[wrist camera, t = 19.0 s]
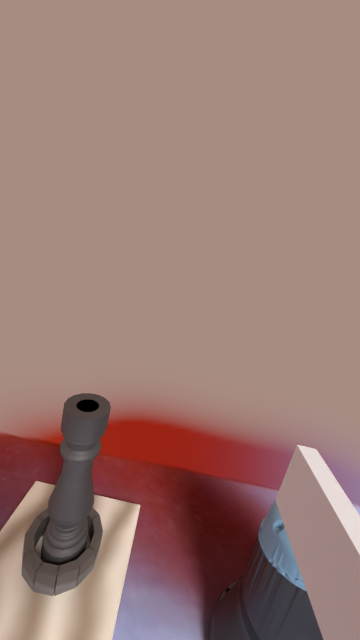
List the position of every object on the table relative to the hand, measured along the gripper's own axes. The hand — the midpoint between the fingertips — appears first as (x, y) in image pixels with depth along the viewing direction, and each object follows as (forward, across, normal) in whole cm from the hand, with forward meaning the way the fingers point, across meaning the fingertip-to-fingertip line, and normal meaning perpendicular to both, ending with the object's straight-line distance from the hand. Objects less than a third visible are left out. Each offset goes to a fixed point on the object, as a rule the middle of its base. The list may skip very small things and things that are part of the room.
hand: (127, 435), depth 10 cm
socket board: (+21, -8, -40) cm, 46 cm away
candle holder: (+21, -8, -39) cm, 45 cm away
